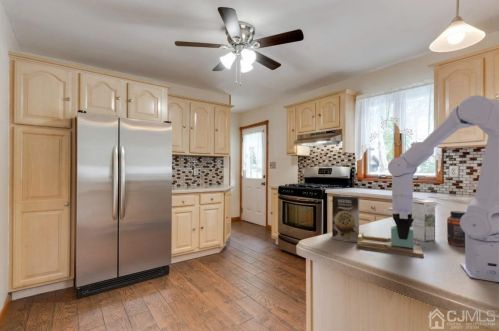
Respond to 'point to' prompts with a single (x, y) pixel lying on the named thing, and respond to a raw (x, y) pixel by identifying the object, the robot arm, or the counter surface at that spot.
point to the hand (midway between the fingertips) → (402, 237)
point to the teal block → (401, 242)
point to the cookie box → (345, 218)
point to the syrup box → (423, 220)
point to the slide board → (386, 246)
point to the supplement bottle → (455, 229)
